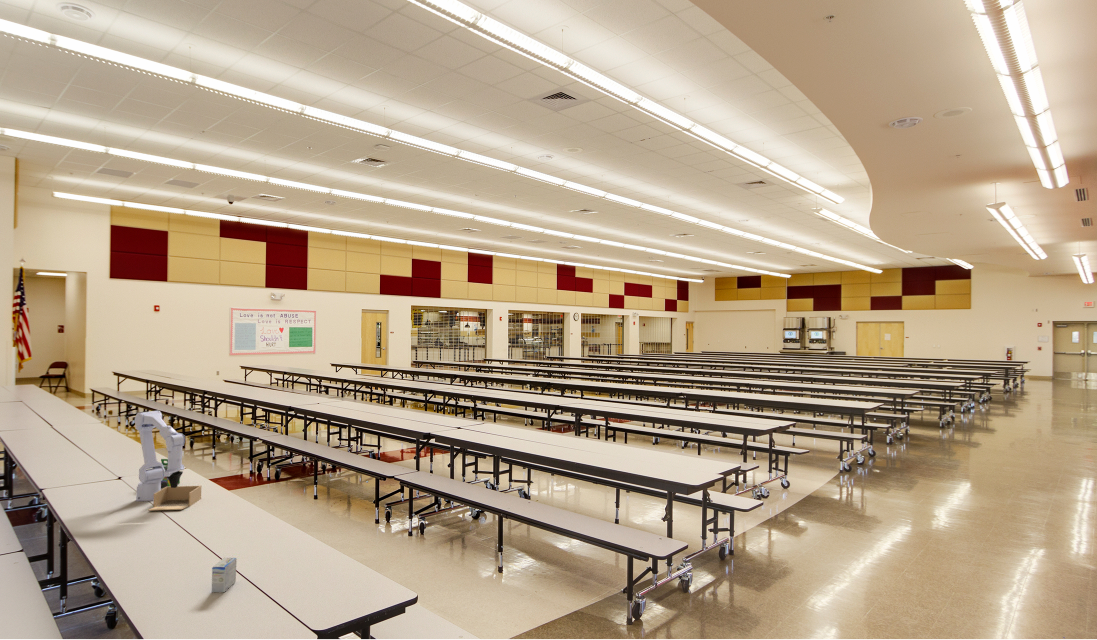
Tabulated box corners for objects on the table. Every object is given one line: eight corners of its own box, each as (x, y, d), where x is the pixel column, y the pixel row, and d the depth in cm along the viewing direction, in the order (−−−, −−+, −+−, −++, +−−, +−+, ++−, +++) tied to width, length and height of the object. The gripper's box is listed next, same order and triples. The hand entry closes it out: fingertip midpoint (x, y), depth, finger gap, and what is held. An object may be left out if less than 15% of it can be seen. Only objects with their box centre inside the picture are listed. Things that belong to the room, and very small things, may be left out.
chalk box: (180, 483, 308) (180, 456, 308) (167, 488, 298) (167, 460, 298) (164, 483, 308) (165, 456, 309) (151, 487, 299) (151, 460, 299)
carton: (153, 509, 266) (153, 493, 266) (166, 501, 278) (166, 486, 278) (190, 507, 269) (190, 492, 269) (201, 500, 281) (201, 485, 281)
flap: (155, 507, 266) (148, 510, 260) (155, 506, 266) (148, 509, 260) (188, 506, 269) (181, 509, 262) (188, 505, 269) (181, 508, 262)
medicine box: (222, 582, 194) (223, 557, 194) (236, 582, 194) (236, 557, 194) (211, 593, 186) (211, 567, 186) (225, 592, 186) (225, 566, 186)
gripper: (176, 463, 265) (175, 491, 265) (191, 455, 279) (190, 482, 279) (160, 463, 263) (159, 492, 263) (175, 455, 278) (174, 483, 278)
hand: (174, 487), depth 271 cm, fingers closed
